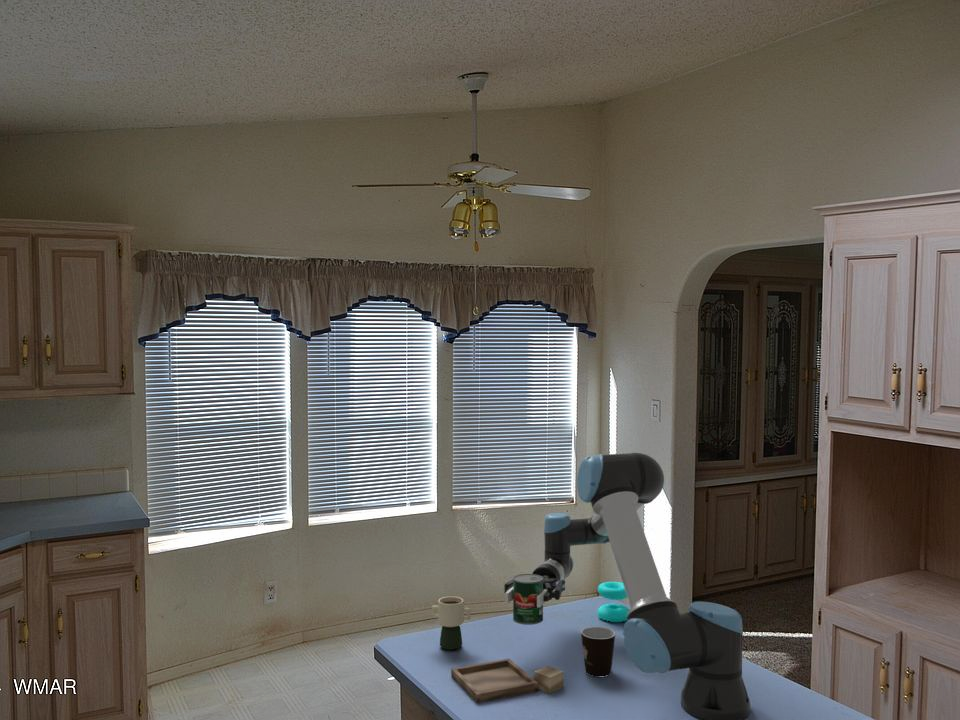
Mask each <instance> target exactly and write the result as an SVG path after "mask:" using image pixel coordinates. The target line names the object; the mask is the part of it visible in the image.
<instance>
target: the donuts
mask: <svg viewBox="0 0 960 720" xmlns="http://www.w3.org/2000/svg"><path fill="white" fill-rule="evenodd" d="M597 592H598V594H599V595H600V596H601V597H602V598H604V599H607V600H611V601H621V600H625V599H628V597H627V594H626V591H625V588H624V585H623V582H620V581H606V582H605V581H604V582H602V583H600V584H599V585H598V586H597ZM629 610H630V608H629V607H627V606H626V605H623V604H620V603H615V602H614V603H612V602H611V603H606V604H603V605H601V606H600V607H598V610H597V615H598V617H599V618H600V619H601V620H602V621H605V620H606V621H605V622H608V621H610V622H609V623H624V622H627V621H628V619H627V614H628V612H629ZM623 621H624V622H623Z"/></svg>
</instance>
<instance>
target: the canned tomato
mask: <svg viewBox="0 0 960 720" xmlns="http://www.w3.org/2000/svg"><path fill="white" fill-rule="evenodd" d="M512 580H513V600H512V602H513V603H512V605H513V606H512V616H513V617H512V620H513V622H515V623H516V624H520V625H526V626H531V625H532V626H533V625H537V624H538V625H539V624H541V623H543V621H544V604H543V605H542V606H541V607H540V608H539V607H537V596H538V595H539V594H540V593H541V592H542V591H543V577H542V576H540V575H536V574H532V573H522V574H521V573H520V574H517V575H514V576H513V578H512Z"/></svg>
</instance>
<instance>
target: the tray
mask: <svg viewBox="0 0 960 720" xmlns="http://www.w3.org/2000/svg"><path fill="white" fill-rule="evenodd" d="M450 669H451V673H450V675H451V678H452V679H453V680H454V681H455V682H456V683H457V684H458V685H459V686H460V687H461V689H463V690H464V692H466V694H467V695H468V696H469V697H470V698H471V699H473V701H474V702H475V703H476V704H478V703H479V704H480V703H484V702H488V701H493V700H498V699H503V698H504V699H505V698H508V697H513V696H520V695H524V694H530V693H534V692H538V691H539V689H538V682H537V681H535V680H534V677H532V676H530V675H529V674H528V672H526V671H524V669H522V668H521V667H520V666H519V665H517V663H515V662H514V661H513V660H511V659H510V658H506V659H499V660H493V661H487V662H482V663H477V664H475V663H474V664H470V665H465V666H459V667H453V668H450Z"/></svg>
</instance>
